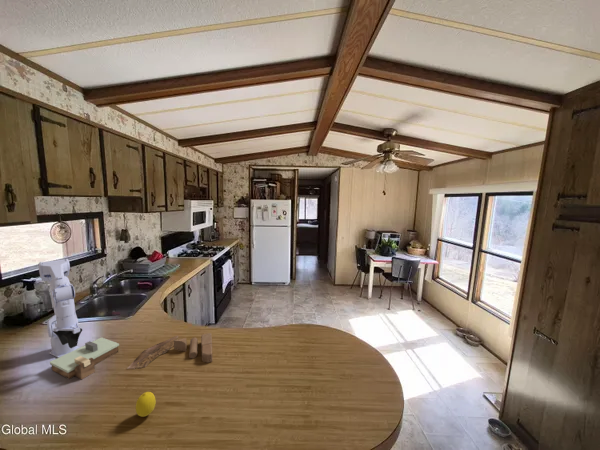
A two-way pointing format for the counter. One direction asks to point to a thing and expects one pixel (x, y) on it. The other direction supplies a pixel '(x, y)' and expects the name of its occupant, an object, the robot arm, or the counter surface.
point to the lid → (84, 353)
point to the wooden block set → (205, 344)
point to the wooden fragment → (152, 353)
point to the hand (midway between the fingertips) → (69, 345)
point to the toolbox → (85, 371)
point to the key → (82, 361)
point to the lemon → (145, 404)
